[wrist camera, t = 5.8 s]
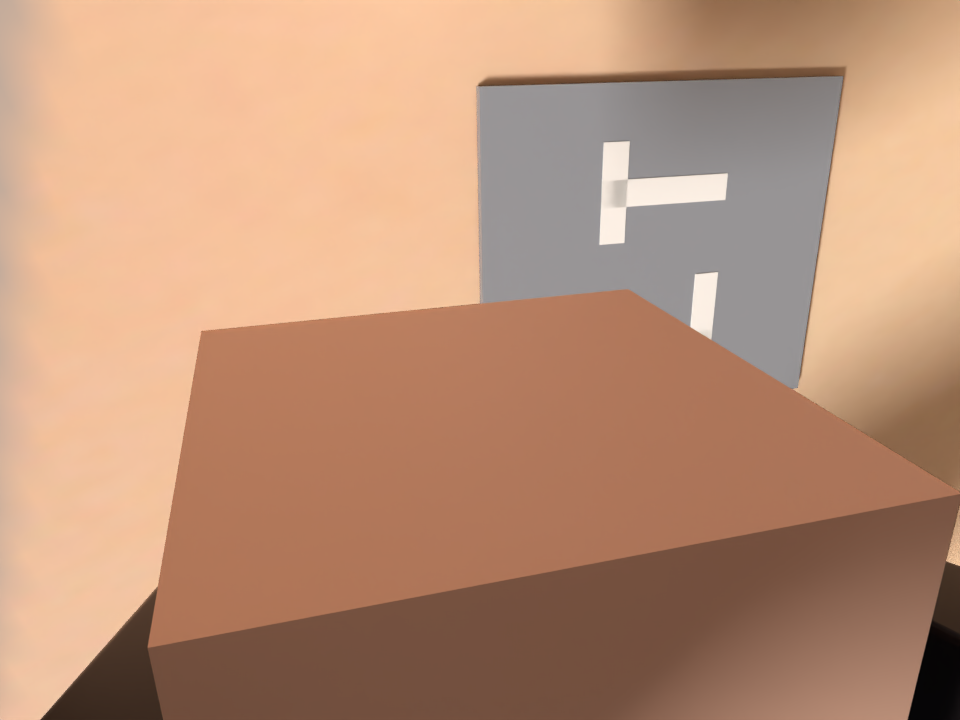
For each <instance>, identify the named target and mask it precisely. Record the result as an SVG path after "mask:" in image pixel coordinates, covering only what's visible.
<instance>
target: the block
mask: <svg viewBox="0 0 960 720" xmlns="http://www.w3.org/2000/svg"><path fill="white" fill-rule="evenodd" d="M959 506H960V492H959V491H958V490H956V489H954V488H953V487H951V486H949V485H948V484H946V483H944V482H943V481H941V480H940V479H938V478H936V477H935V476H933V475H931V474H930V473H928V472H926V471H925V470H923V469H922V468H920V467H918V466H917V465H915V464H913V463H912V462H910V461H909V460H907V459H905V458H904V457H902V456H900V455H899V454H897V453H895V452H894V451H892V450H891V449H889V448H887V447H886V446H884V445H882V444H881V443H879V442H877V441H876V440H874V439H873V438H871V437H869V436H868V435H866V434H864V433H863V432H861V431H859V430H858V429H856V428H855V427H853V426H851V425H850V424H848V423H846V422H845V421H843V420H841V419H840V418H838V417H837V416H835V415H833V414H832V413H830V412H828V411H827V410H825V409H824V408H822V407H820V406H819V405H817V404H815V403H814V402H812V401H810V400H809V399H807V398H806V397H804V396H802V395H801V394H799V393H797V392H796V391H794V390H792V389H791V388H789V387H788V386H786V385H784V384H783V383H781V382H779V381H778V380H776V379H774V378H773V377H771V376H770V375H768V374H766V373H765V372H763V371H761V370H760V369H758V368H756V367H755V366H753V365H752V364H750V363H748V362H747V361H745V360H743V359H742V358H740V357H738V356H737V355H735V354H734V353H732V352H730V351H729V350H727V349H725V348H724V347H722V346H721V345H719V344H717V343H716V342H714V341H712V340H711V339H709V338H707V337H706V336H704V335H703V334H701V333H699V332H698V331H696V330H694V329H693V328H691V327H689V326H688V325H686V324H685V323H683V322H681V321H680V320H678V319H676V318H675V317H673V316H671V315H670V314H668V313H667V312H665V311H663V310H662V309H660V308H658V307H657V306H655V305H653V304H652V303H650V302H649V301H647V300H645V299H644V298H642V297H640V296H639V295H637V294H635V293H634V292H632V291H631V290H629V289H623V290H613V291H603V292H593V293H583V294H573V295H563V296H552V297H542V298H532V299H522V300H512V301H502V302H492V303H481V304H471V305H461V306H451V307H441V308H431V309H421V310H411V311H400V312H390V313H380V314H370V315H360V316H350V317H340V318H329V319H319V320H309V321H299V322H289V323H279V324H269V325H259V326H248V327H238V328H228V329H218V330H208V331H201V337H200V342H199V348H198V354H197V360H196V366H195V372H194V378H193V384H192V389H191V395H190V401H189V407H188V413H187V419H186V425H185V431H184V436H183V442H182V448H181V454H180V460H179V466H178V472H177V478H176V483H175V489H174V495H173V501H172V507H171V513H170V519H169V525H168V530H167V536H166V542H165V548H164V554H163V560H162V566H161V572H160V578H159V583H158V589H157V595H156V601H155V607H154V613H153V619H152V625H151V630H150V636H149V642H148V652H149V657H150V662H151V666H152V671H153V675H154V680H155V685H156V689H157V694H158V698H159V703H160V708H161V712H162V717H163V720H908V716H909V712H910V707H911V703H912V699H913V695H914V691H915V687H916V683H917V679H918V674H919V670H920V666H921V662H922V658H923V654H924V650H925V646H926V642H927V637H928V633H929V629H930V625H931V621H932V617H933V613H934V609H935V604H936V600H937V596H938V592H939V588H940V584H941V580H942V576H943V572H944V567H945V563H946V559H947V555H948V551H949V547H950V543H951V539H952V534H953V530H954V526H955V522H956V518H957V514H958V510H959Z"/></svg>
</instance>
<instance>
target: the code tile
mask: <svg viewBox="0 0 960 720" xmlns="http://www.w3.org/2000/svg"><path fill="white" fill-rule="evenodd" d="M842 83H843V76H820V77H785V78H750V79H715V80H680V81H644V82H609V83H574V84H539V85H504V86H477V139H478V201H479V262H480V304H481V303H492V302H502V301H512V300H522V299H532V298H542V297H552V296H563V295H573V294H583V293H593V292H603V291H613V290H623V289H629V290H631V291H632V292H634V293H635V294H637V295H639V296H640V297H642V298H644V299H645V300H647V301H649V302H650V303H652V304H653V305H655V306H657V307H658V308H660V309H662V310H663V311H665V312H667V313H668V314H670V315H671V316H673V317H675V318H676V319H678V320H680V321H681V322H683V323H685V324H686V325H688V326H689V327H691V328H693V329H694V330H696V331H698V332H699V333H701V334H703V335H704V336H706V337H707V338H709V339H711V340H712V341H714V342H716V343H717V344H719V345H721V346H722V347H724V348H725V349H727V350H729V351H730V352H732V353H734V354H735V355H737V356H738V357H740V358H742V359H743V360H745V361H747V362H748V363H750V364H752V365H753V366H755V367H756V368H758V369H760V370H761V371H763V372H765V373H766V374H768V375H770V376H771V377H773V378H774V379H776V380H778V381H779V382H781V383H783V384H784V385H786V386H788V387H789V388H791V389H793V388H798V382H799V376H800V369H801V362H802V355H803V348H804V341H805V335H806V328H807V321H808V314H809V307H810V301H811V294H812V287H813V280H814V273H815V267H816V260H817V253H818V246H819V239H820V233H821V226H822V219H823V212H824V205H825V199H826V192H827V185H828V178H829V171H830V165H831V158H832V151H833V144H834V137H835V130H836V124H837V117H838V110H839V103H840V96H841V90H842Z"/></svg>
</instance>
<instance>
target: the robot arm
mask: <svg viewBox="0 0 960 720" xmlns="http://www.w3.org/2000/svg"><path fill="white" fill-rule="evenodd" d="M157 589H158V587H157V588H156V589H155V590H154V591H153V592H152V594H151V595H150V596H149V597H148V598H147V599H146V600H145V602H144V603H143V604H142V605H141V606H140V607H139V608H138V610H137V611H136V612H135V613H134V614H133V615H132V616H131V617H130V619H129V620H128V621H127V622H126V623H125V624H124V625H123V627H122V628H121V629H120V630H119V631H118V632H117V633H116V635H115V636H114V637H113V638H112V639H111V640H110V641H109V642H108V644H107V645H106V646H105V647H104V648H103V649H102V650H101V652H100V653H99V654H98V655H97V656H96V657H95V658H94V659H93V661H92V662H91V663H90V664H89V665H88V666H87V667H86V669H85V670H84V671H83V672H82V673H81V674H80V675H79V677H78V678H77V679H76V680H75V681H74V682H73V683H72V684H71V686H70V687H69V688H68V689H67V690H66V691H65V692H64V694H63V695H62V696H61V697H60V698H59V699H58V700H57V702H56V703H55V704H54V705H53V706H52V707H51V708H50V709H49V711H48V712H47V713H46V714H45V715H44V716H43V717H42V719H41V720H163V717H162V712H161V708H160V703H159V698H158V694H157V689H156V685H155V680H154V675H153V671H152V666H151V662H150V657H149V652H148V642H149V636H150V630H151V625H152V619H153V613H154V607H155V601H156V595H157ZM908 720H960V566H958V565H955V564H952V563H949V562H946V563H945V567H944V572H943V576H942V580H941V584H940V588H939V592H938V596H937V600H936V604H935V609H934V613H933V617H932V621H931V625H930V629H929V633H928V637H927V642H926V646H925V650H924V654H923V658H922V662H921V666H920V670H919V674H918V679H917V683H916V687H915V691H914V695H913V699H912V703H911V707H910V712H909V716H908Z"/></svg>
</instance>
